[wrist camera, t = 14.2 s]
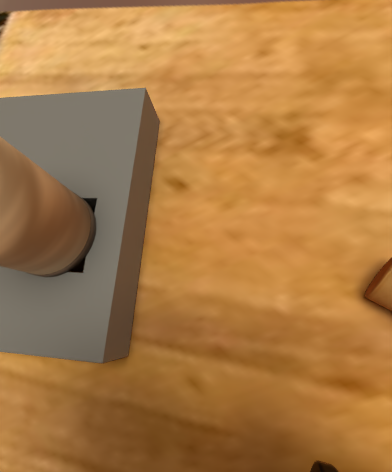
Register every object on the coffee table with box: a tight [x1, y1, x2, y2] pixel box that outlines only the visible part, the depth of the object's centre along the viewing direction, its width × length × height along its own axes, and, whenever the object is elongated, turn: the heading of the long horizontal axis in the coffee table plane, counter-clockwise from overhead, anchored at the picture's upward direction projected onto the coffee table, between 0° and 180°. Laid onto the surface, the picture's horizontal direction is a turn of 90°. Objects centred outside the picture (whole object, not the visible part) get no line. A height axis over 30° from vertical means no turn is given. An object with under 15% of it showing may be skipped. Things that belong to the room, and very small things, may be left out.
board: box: [0, 88, 160, 363], centre depth 20 cm, size 18×13×4 cm
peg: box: [0, 137, 96, 277], centre depth 15 cm, size 6×6×12 cm
